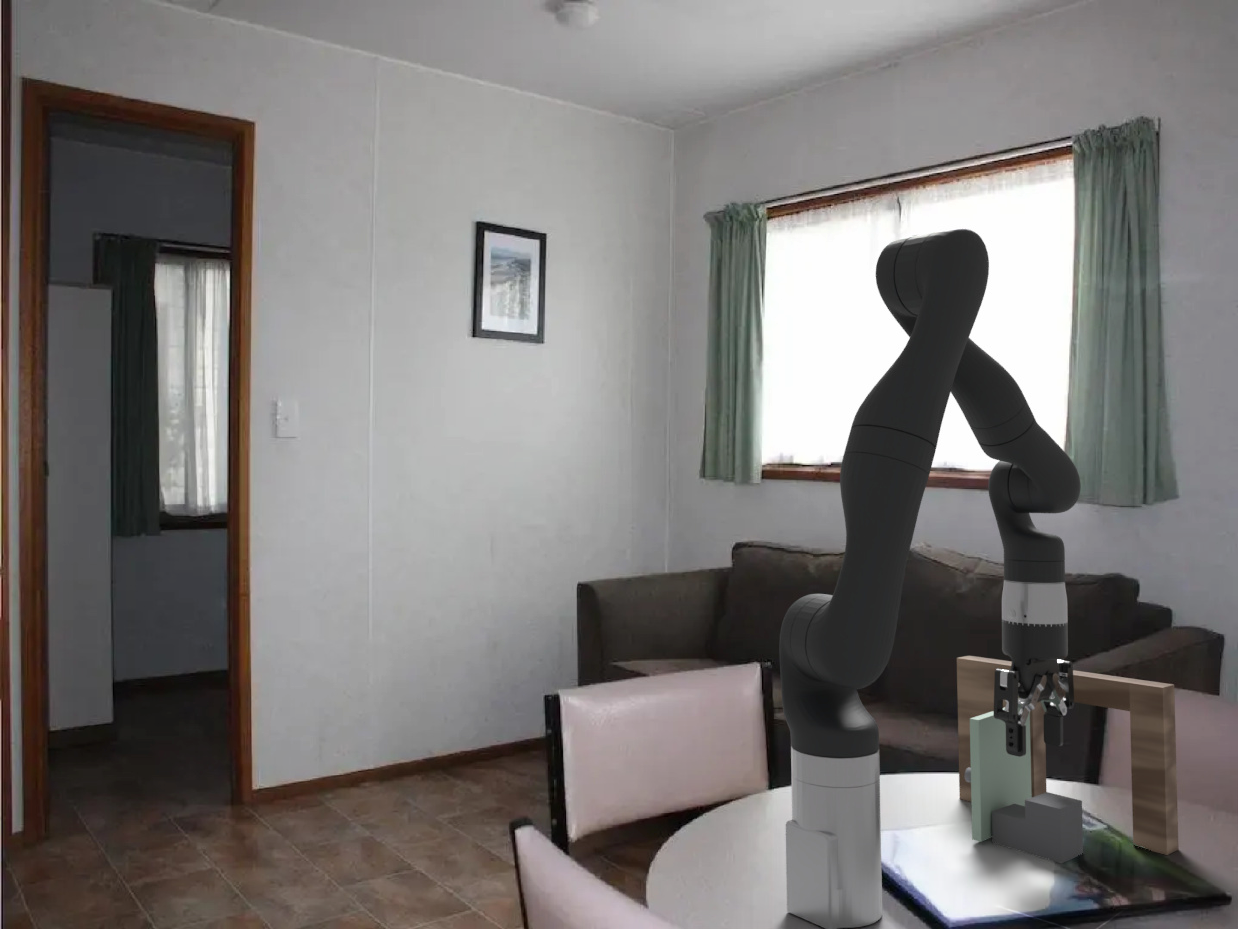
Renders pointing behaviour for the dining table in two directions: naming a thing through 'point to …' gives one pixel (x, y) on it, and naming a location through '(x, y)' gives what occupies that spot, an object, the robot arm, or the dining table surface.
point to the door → (995, 772)
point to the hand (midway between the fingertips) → (1035, 750)
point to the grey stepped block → (1041, 827)
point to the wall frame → (1140, 697)
